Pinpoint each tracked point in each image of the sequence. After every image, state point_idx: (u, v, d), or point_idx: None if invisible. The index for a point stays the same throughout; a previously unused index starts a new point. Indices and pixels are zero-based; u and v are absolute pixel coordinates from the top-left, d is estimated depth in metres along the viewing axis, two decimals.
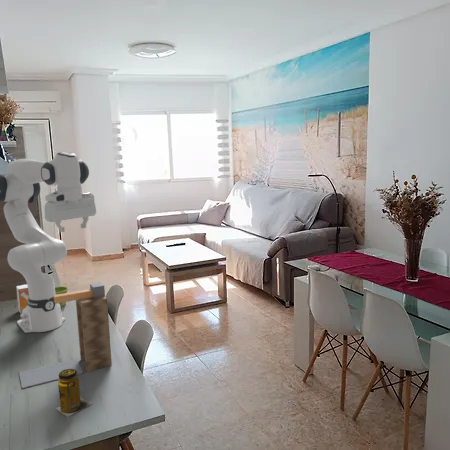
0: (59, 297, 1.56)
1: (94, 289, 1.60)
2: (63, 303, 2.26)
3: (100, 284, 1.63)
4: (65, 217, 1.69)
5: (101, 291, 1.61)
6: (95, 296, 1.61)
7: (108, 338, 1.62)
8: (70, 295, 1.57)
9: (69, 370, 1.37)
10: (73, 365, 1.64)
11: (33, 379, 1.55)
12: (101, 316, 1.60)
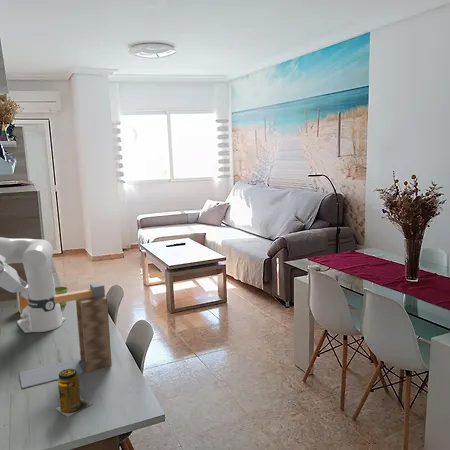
0: (59, 297, 1.56)
1: (94, 289, 1.60)
2: (63, 303, 2.26)
3: (100, 284, 1.63)
4: (17, 278, 1.46)
5: (101, 291, 1.61)
6: (95, 296, 1.61)
7: (108, 338, 1.62)
8: (70, 295, 1.57)
9: (69, 370, 1.37)
10: (73, 365, 1.64)
11: (33, 379, 1.55)
12: (101, 316, 1.60)
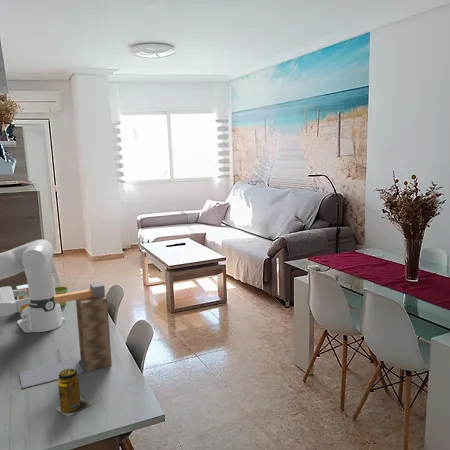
0: (59, 297, 1.56)
1: (94, 289, 1.60)
2: (63, 303, 2.26)
3: (100, 284, 1.63)
4: (11, 297, 1.46)
5: (101, 291, 1.61)
6: (95, 296, 1.61)
7: (108, 338, 1.62)
8: (70, 295, 1.57)
9: (69, 370, 1.37)
10: (73, 365, 1.64)
11: (33, 379, 1.55)
12: (101, 316, 1.60)
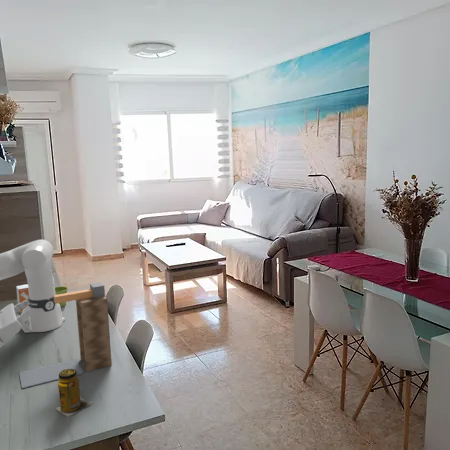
0: (59, 297, 1.56)
1: (94, 289, 1.60)
2: (63, 303, 2.26)
3: (100, 284, 1.63)
4: (11, 315, 1.47)
5: (101, 291, 1.61)
6: (95, 296, 1.61)
7: (108, 338, 1.62)
8: (70, 295, 1.57)
9: (69, 370, 1.37)
10: (73, 365, 1.64)
11: (33, 379, 1.55)
12: (101, 316, 1.60)
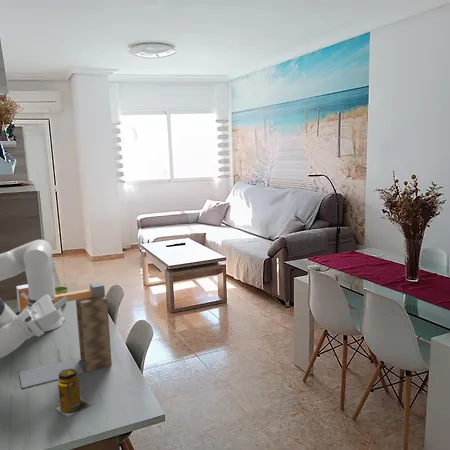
0: (59, 297, 1.56)
1: (94, 289, 1.60)
2: None
3: (100, 284, 1.63)
4: (50, 305, 1.52)
5: (101, 291, 1.61)
6: (95, 296, 1.61)
7: (108, 338, 1.62)
8: (70, 295, 1.58)
9: (69, 370, 1.37)
10: (73, 365, 1.64)
11: (33, 379, 1.55)
12: (101, 316, 1.60)
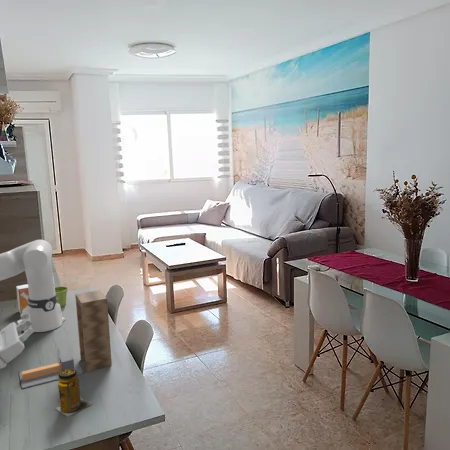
0: (27, 374, 1.54)
1: (63, 364, 1.58)
2: (63, 303, 2.26)
3: (70, 357, 1.61)
4: (14, 336, 1.48)
5: (71, 365, 1.60)
6: None
7: (108, 338, 1.62)
8: (38, 371, 1.56)
9: (69, 370, 1.37)
10: None
11: (33, 379, 1.55)
12: (101, 316, 1.60)
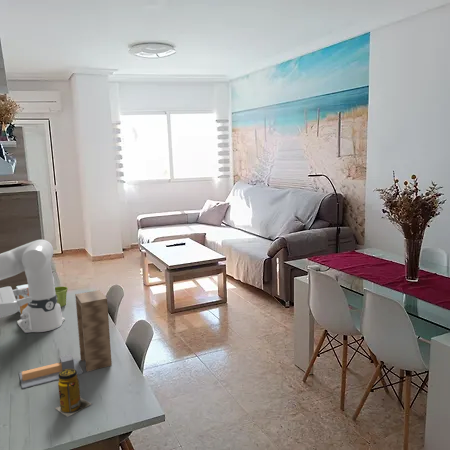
0: (27, 374, 1.54)
1: (63, 364, 1.58)
2: (63, 303, 2.26)
3: (70, 357, 1.61)
4: (11, 297, 1.46)
5: (71, 365, 1.60)
6: None
7: (108, 338, 1.62)
8: (38, 371, 1.56)
9: (69, 370, 1.37)
10: None
11: (33, 379, 1.55)
12: (101, 316, 1.60)
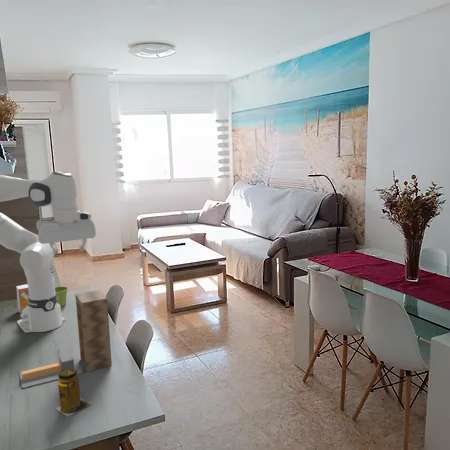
0: (27, 374, 1.54)
1: (63, 364, 1.58)
2: (63, 303, 2.26)
3: (70, 357, 1.61)
4: None
5: (71, 365, 1.60)
6: None
7: (108, 338, 1.62)
8: (38, 371, 1.56)
9: (69, 370, 1.37)
10: None
11: (33, 379, 1.55)
12: (101, 316, 1.60)
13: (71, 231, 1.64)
